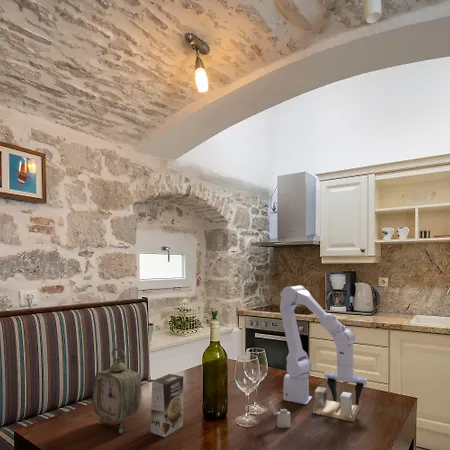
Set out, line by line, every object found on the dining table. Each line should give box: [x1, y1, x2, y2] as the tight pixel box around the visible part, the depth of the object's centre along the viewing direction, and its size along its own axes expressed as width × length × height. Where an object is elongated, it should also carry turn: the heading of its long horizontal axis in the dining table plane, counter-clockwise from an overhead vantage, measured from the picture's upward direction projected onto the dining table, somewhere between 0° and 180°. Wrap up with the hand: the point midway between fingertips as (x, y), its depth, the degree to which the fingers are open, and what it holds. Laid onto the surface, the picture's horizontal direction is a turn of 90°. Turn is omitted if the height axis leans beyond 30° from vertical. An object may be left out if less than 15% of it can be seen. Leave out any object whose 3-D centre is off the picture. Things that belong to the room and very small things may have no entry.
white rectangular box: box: [339, 391, 353, 414], centre depth 130 cm, size 3×5×6 cm, turn 151°
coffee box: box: [150, 373, 184, 438], centre depth 119 cm, size 9×6×16 cm
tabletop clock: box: [92, 347, 142, 434], centre depth 122 cm, size 14×9×25 cm, turn 55°
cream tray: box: [312, 386, 360, 422], centre depth 132 cm, size 14×11×7 cm
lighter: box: [268, 400, 291, 428], centre depth 121 cm, size 7×2×8 cm, turn 93°
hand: (346, 402), depth 131 cm, fingers open, 7 cm apart
